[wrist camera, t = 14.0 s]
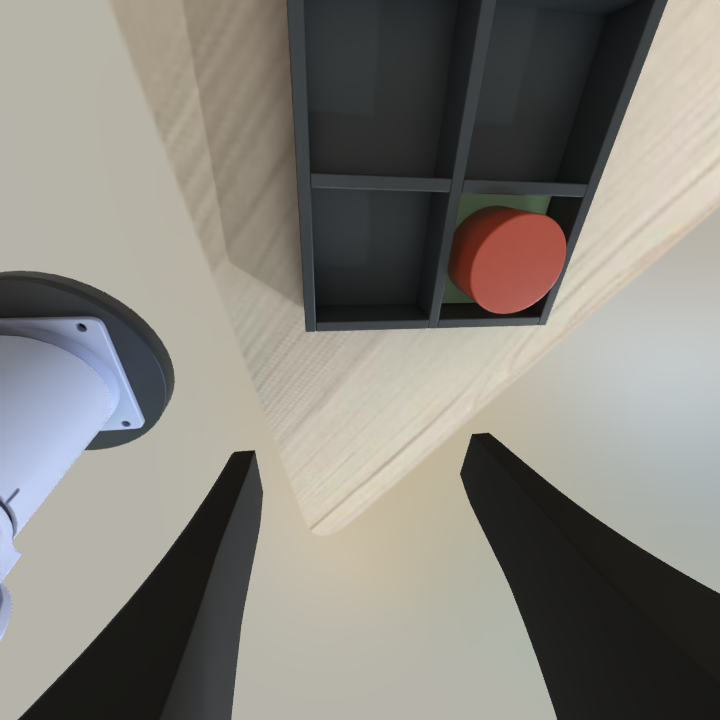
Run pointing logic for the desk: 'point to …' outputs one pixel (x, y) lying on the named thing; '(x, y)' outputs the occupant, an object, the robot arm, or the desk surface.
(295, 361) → the desk surface
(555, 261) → the cylinder
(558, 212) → the grid
